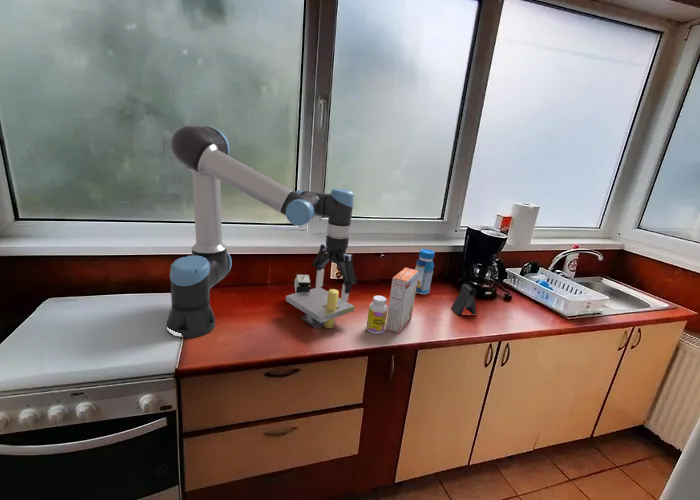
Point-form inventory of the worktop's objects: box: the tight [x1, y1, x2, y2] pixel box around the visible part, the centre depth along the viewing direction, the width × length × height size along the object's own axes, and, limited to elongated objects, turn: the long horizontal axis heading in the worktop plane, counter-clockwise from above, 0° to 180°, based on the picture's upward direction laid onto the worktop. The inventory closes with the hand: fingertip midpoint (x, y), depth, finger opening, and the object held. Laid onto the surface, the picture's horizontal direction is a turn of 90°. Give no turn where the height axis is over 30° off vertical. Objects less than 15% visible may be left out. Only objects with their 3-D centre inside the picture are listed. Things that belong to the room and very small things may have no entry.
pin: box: [323, 288, 340, 329], centre depth 134 cm, size 4×4×14 cm
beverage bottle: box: [414, 248, 436, 295], centre depth 176 cm, size 8×8×20 cm
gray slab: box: [285, 287, 355, 330], centre depth 140 cm, size 16×20×8 cm
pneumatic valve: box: [294, 273, 311, 293], centre depth 151 cm, size 6×12×12 cm, turn 12°
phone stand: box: [450, 283, 478, 316], centre depth 160 cm, size 9×6×12 cm, turn 103°
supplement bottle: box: [366, 295, 389, 335], centre depth 137 cm, size 7×7×13 cm
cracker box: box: [385, 267, 419, 334], centre depth 142 cm, size 14×6×21 cm, turn 152°
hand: (331, 293), depth 133 cm, fingers open, 13 cm apart
